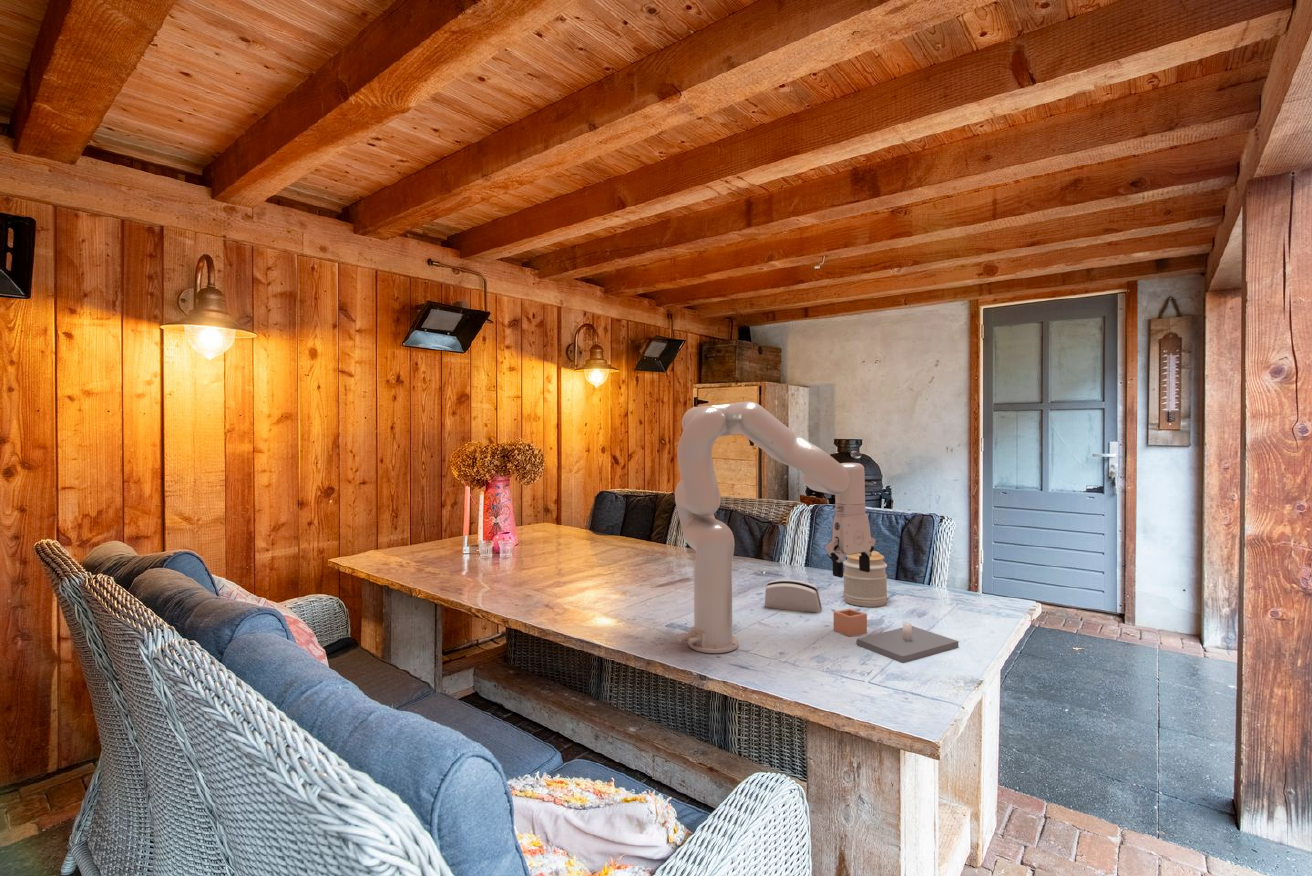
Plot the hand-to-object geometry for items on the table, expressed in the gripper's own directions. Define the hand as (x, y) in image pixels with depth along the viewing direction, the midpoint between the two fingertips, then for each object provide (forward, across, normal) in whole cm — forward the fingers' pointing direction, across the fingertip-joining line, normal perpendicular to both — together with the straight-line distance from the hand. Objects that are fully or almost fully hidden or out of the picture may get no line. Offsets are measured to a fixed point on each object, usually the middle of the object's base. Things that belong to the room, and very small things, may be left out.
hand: (851, 573), depth 170 cm
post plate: (+16, +3, -15) cm, 22 cm away
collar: (+15, -1, 0) cm, 15 cm away
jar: (+16, +24, +18) cm, 34 cm away
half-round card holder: (+16, 0, +24) cm, 29 cm away
